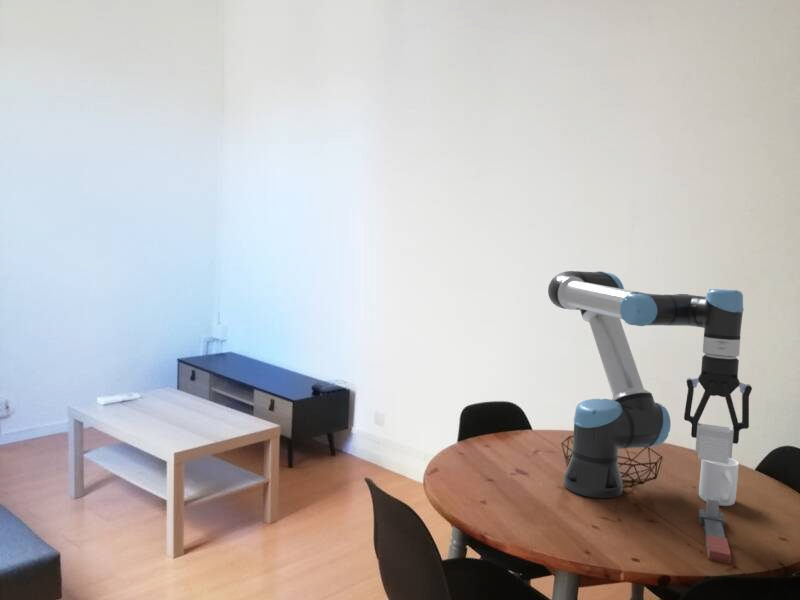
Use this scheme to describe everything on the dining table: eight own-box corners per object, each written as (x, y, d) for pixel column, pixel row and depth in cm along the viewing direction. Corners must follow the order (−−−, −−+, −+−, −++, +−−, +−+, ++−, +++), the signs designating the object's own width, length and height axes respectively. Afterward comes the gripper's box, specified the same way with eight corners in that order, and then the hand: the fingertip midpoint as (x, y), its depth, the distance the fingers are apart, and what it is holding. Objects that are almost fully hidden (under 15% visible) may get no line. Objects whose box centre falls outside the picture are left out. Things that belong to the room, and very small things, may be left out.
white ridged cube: (698, 458, 142) (700, 429, 141) (698, 452, 147) (700, 423, 147) (727, 463, 139) (730, 433, 139) (726, 456, 145) (729, 427, 144)
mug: (711, 510, 153) (714, 469, 152) (693, 492, 165) (696, 453, 164) (747, 513, 152) (751, 471, 151) (726, 494, 164) (730, 455, 163)
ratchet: (732, 564, 126) (735, 536, 126) (705, 558, 128) (708, 531, 128) (721, 520, 147) (724, 496, 147) (698, 516, 149) (700, 492, 149)
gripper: (675, 353, 143) (668, 451, 144) (769, 362, 134) (761, 465, 136) (676, 350, 149) (669, 443, 151) (766, 358, 141) (758, 456, 143)
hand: (713, 453), depth 143 cm, fingers closed on white ridged cube, 6 cm apart
